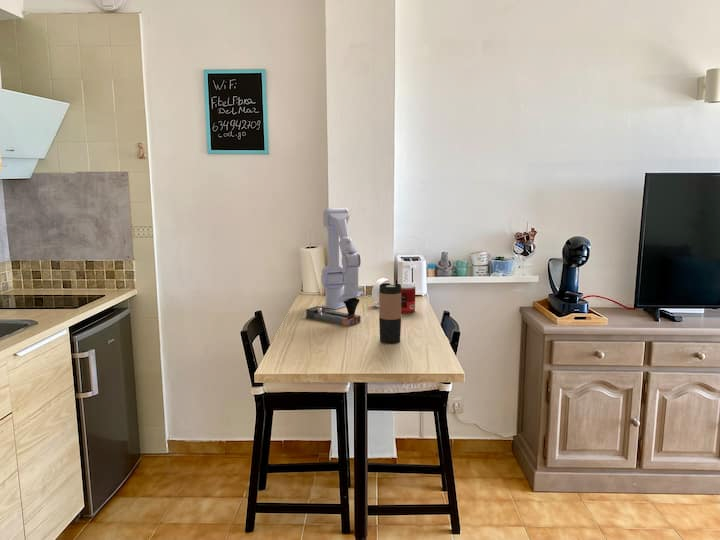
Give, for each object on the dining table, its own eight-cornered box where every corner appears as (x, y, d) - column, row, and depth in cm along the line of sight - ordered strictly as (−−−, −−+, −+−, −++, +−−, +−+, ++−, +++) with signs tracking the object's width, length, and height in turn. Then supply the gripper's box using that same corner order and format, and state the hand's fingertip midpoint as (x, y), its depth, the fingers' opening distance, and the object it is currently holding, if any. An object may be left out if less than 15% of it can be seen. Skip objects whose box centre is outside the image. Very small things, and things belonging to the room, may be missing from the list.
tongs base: (306, 317, 227) (305, 308, 227) (317, 314, 233) (317, 305, 232) (349, 326, 215) (348, 316, 214) (359, 322, 220) (359, 313, 220)
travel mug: (386, 345, 191) (386, 288, 188) (375, 339, 198) (375, 284, 194) (405, 342, 194) (405, 285, 191) (393, 336, 201) (394, 282, 198)
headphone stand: (388, 306, 247) (389, 279, 245) (377, 308, 244) (377, 281, 242) (383, 304, 251) (383, 278, 249) (371, 305, 248) (371, 279, 246)
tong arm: (324, 317, 227) (324, 311, 226) (329, 316, 229) (329, 309, 229) (355, 323, 218) (355, 317, 218) (360, 321, 221) (360, 315, 220)
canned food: (415, 309, 242) (415, 284, 240) (415, 313, 234) (415, 287, 232) (397, 308, 243) (397, 283, 241) (396, 313, 235) (397, 287, 233)
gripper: (348, 287, 213) (348, 322, 215) (369, 281, 225) (370, 314, 227) (333, 285, 217) (334, 319, 219) (355, 279, 229) (356, 311, 231)
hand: (351, 316), depth 223 cm, fingers closed
